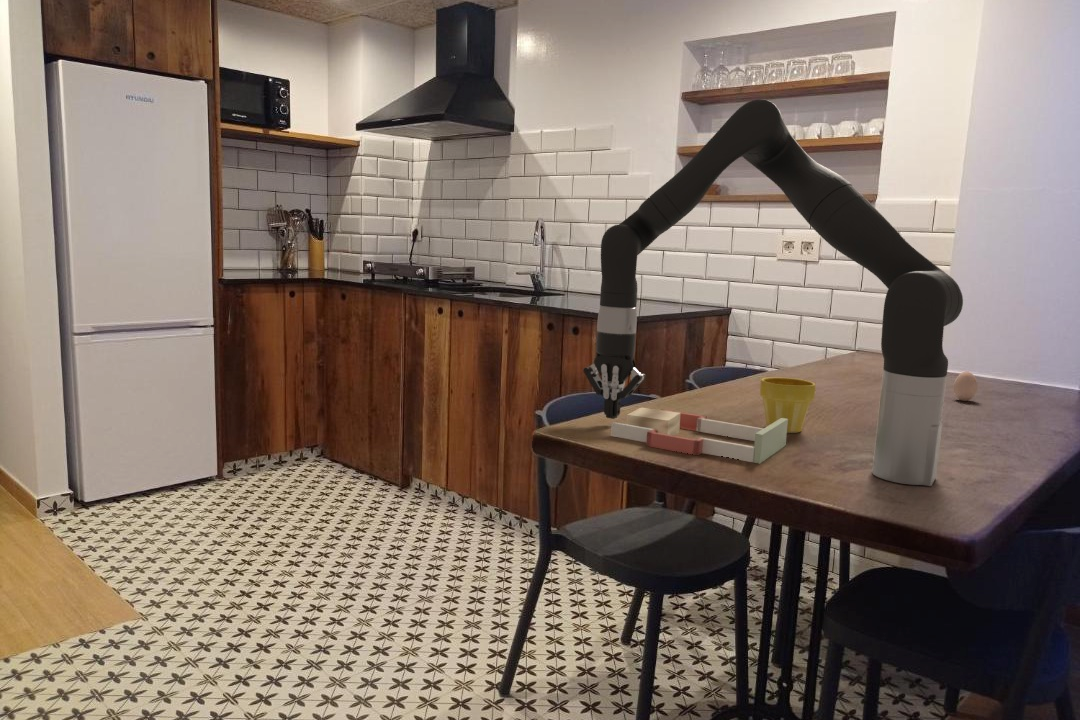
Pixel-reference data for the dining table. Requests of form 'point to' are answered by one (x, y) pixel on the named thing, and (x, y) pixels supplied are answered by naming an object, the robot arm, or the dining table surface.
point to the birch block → (655, 420)
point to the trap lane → (764, 438)
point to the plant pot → (787, 400)
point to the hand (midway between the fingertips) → (611, 417)
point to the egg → (965, 386)
